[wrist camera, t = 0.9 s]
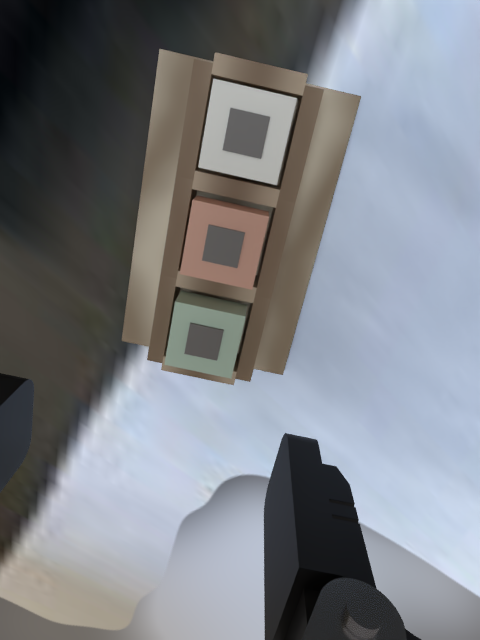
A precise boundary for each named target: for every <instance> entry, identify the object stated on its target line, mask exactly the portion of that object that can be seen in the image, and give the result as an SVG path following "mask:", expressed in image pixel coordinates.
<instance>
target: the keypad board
mask: <svg viewBox="0 0 480 640" xmlns="http://www.w3.org/2000/svg"><path fill="white" fill-rule="evenodd" d="M307 76H308V74H304V73H300V72H296V71H292V70H288V69H283V68H279V67H275V66H271V65H266V64H262V63H258V62H254V61H250V60H245V59H241V58H237V57H233V56H229V55H224V54H220V53H216V52H215V56H214V61H209V60H205V59H201V58H196V57H192V56H188V55H184V54H179V53H175V52H171V51H167V50H163V49H160V50H159V58H158V65H157V73H156V81H155V88H154V96H153V104H152V112H151V119H150V127H149V135H148V142H147V150H146V158H145V165H144V173H143V181H142V189H141V196H140V204H139V212H138V219H137V227H136V235H135V242H134V250H133V258H132V266H131V273H130V281H129V289H128V296H127V304H126V312H125V319H124V327H123V335H122V341H125V342H130V343H135V344H139V345H144V346H149V352H148V358H147V360H150V361H154V362H159V363H162V368H161V370H164V371H169V372H174V373H178V374H183V375H188V376H193V377H198V378H202V379H207V380H212V381H217V382H221V383H226V384H231V385H234V382H235V379H240V380H245V381H249V382H250V380H251V376H252V373H253V369H257V370H262V371H267V372H271V373H276V374H281V375H283V372H284V369H285V365H286V362H287V358H288V355H289V351H290V347H291V344H292V340H293V337H294V333H295V330H296V326H297V323H298V319H299V315H300V312H301V308H302V305H303V301H304V298H305V294H306V291H307V287H308V283H309V280H310V276H311V273H312V269H313V266H314V262H315V259H316V255H317V251H318V248H319V244H320V241H321V237H322V234H323V230H324V227H325V223H326V220H327V216H328V212H329V209H330V205H331V202H332V198H333V195H334V191H335V188H336V184H337V180H338V177H339V173H340V170H341V166H342V163H343V159H344V156H345V152H346V148H347V145H348V141H349V138H350V134H351V131H352V127H353V124H354V120H355V116H356V113H357V109H358V106H359V102H360V99H361V96H357V95H353V94H349V93H344V92H340V91H336V90H332V89H328V88H323V87H319V86H315V85H311V84H306V80H307ZM213 79H218V80H222V81H226V82H230V83H235V84H239V85H243V86H247V87H252V88H256V89H260V90H264V91H269V92H273V93H277V94H281V95H286V96H290V97H294V98H297V101H296V105H295V110H294V114H293V118H292V122H291V127H290V131H289V135H288V139H287V144H286V148H285V152H284V157H283V161H282V165H281V169H280V174H279V178H278V182H277V185H274V184H269V183H265V182H261V181H256V180H252V179H247V178H243V177H239V176H234V175H230V174H225V173H221V172H217V171H212V170H208V169H203V168H199V167H198V165H199V159H200V153H201V148H202V142H203V136H204V130H205V124H206V118H207V113H208V107H209V101H210V95H211V89H212V83H213ZM196 196H202V197H207V198H211V199H216V200H220V201H225V202H229V203H233V204H238V205H242V206H247V207H251V208H256V209H260V210H265V211H269V220H268V225H267V229H266V233H265V237H264V242H263V246H262V250H261V254H260V259H259V263H258V267H257V271H256V276H255V280H254V284H253V288H252V290H250V289H246V288H241V287H237V286H232V285H228V284H223V283H218V282H214V281H209V280H205V279H200V278H196V277H191V276H186V275H182V274H180V270H181V264H182V258H183V253H184V247H185V241H186V235H187V229H188V223H189V218H190V212H191V206H192V200H193V199H194V198H195V197H196ZM181 291H186V292H190V293H195V294H199V295H204V296H209V297H213V298H218V299H222V300H227V301H232V302H236V303H241V304H245V305H247V309H246V318H245V322H244V327H243V331H242V335H241V339H240V344H239V348H238V352H237V356H236V361H235V365H234V369H233V373H232V378H231V379H230V378H225V377H221V376H216V375H211V374H206V373H202V372H197V371H192V370H187V369H183V368H178V367H173V366H168V365H164V364H165V358H166V352H167V346H168V340H169V334H170V329H171V323H172V317H173V311H174V305H175V301H176V299H177V297H178V295H179V293H180V292H181Z"/></svg>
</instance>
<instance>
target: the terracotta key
mask: <svg viewBox="0 0 480 640" xmlns="http://www.w3.org/2000/svg"><path fill="white" fill-rule="evenodd" d="M268 220H269V211H265V210H260V209H256V208H251V207H247V206H242V205H238V204H233V203H229V202H225V201H220V200H216V199H211V198H207V197H202V196H196V197H195V198H194V199H193V200H192V206H191V212H190V218H189V223H188V229H187V235H186V241H185V247H184V253H183V258H182V264H181V270H180V274H182V275H186V276H191V277H196V278H200V279H205V280H209V281H214V282H218V283H223V284H228V285H232V286H237V287H241V288H246V289H250V290H252V288H253V284H254V280H255V276H256V271H257V267H258V263H259V259H260V254H261V250H262V246H263V242H264V237H265V233H266V229H267V225H268Z"/></svg>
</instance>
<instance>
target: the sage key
mask: <svg viewBox="0 0 480 640" xmlns="http://www.w3.org/2000/svg"><path fill="white" fill-rule="evenodd" d="M246 309H247V305H245V304H241V303H236V302H232V301H227V300H222V299H218V298H213V297H209V296H204V295H199V294H195V293H190V292H186V291H181V292H180V293H179V295H178V297H177V299H176V301H175V305H174V311H173V317H172V323H171V329H170V334H169V340H168V346H167V352H166V358H165V364H164V365H168V366H173V367H178V368H183V369H187V370H192V371H197V372H202V373H206V374H211V375H216V376H221V377H225V378H230V379H231V378H232V373H233V369H234V365H235V361H236V356H237V352H238V348H239V344H240V339H241V335H242V331H243V327H244V322H245V318H246Z"/></svg>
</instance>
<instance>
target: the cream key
mask: <svg viewBox="0 0 480 640" xmlns="http://www.w3.org/2000/svg"><path fill="white" fill-rule="evenodd" d="M296 101H297V98H294V97H290V96H286V95H281V94H277V93H273V92H269V91H264V90H260V89H256V88H252V87H247V86H243V85H239V84H235V83H230V82H226V81H222V80H218V79H213V83H212V89H211V95H210V101H209V107H208V113H207V118H206V124H205V130H204V136H203V142H202V148H201V153H200V159H199V165H198V167H199V168H203V169H208V170H212V171H217V172H221V173H225V174H230V175H234V176H239V177H243V178H247V179H252V180H256V181H261V182H265V183H269V184H274V185H277V182H278V178H279V174H280V169H281V165H282V161H283V157H284V152H285V148H286V144H287V139H288V135H289V131H290V127H291V122H292V118H293V114H294V110H295V105H296Z"/></svg>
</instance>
